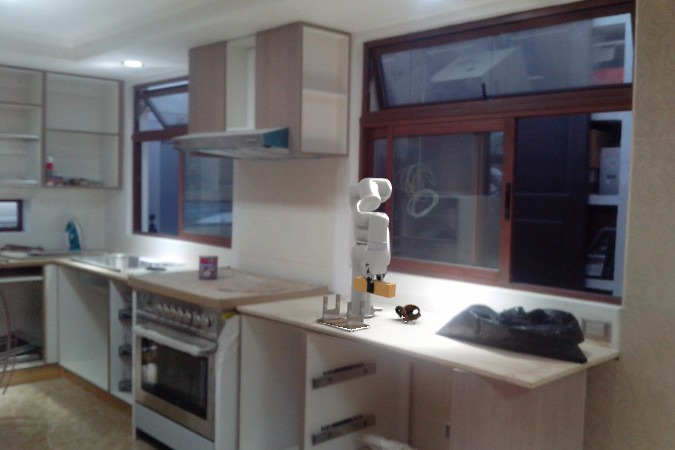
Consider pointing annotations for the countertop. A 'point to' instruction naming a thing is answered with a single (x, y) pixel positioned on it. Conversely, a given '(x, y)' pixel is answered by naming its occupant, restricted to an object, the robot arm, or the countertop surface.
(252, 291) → the countertop surface
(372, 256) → the robot arm
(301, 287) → the countertop surface
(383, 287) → the orange rectangular bar
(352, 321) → the cradle
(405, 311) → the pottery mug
